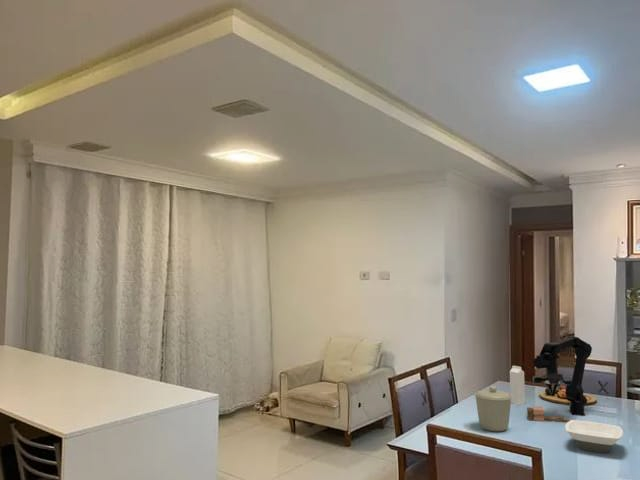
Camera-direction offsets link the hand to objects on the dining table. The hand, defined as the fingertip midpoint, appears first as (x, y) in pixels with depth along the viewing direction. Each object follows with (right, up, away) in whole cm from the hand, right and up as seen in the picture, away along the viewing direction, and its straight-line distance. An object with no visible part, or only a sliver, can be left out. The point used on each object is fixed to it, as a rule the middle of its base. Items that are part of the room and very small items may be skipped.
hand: (552, 396), depth 273 cm
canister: (-38, -10, -19) cm, 44 cm away
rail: (-5, -11, -5) cm, 13 cm away
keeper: (-9, -11, -3) cm, 15 cm away
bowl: (-3, -9, -47) cm, 48 cm away
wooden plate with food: (+27, -15, +40) cm, 50 cm away
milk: (-7, -14, +29) cm, 33 cm away
